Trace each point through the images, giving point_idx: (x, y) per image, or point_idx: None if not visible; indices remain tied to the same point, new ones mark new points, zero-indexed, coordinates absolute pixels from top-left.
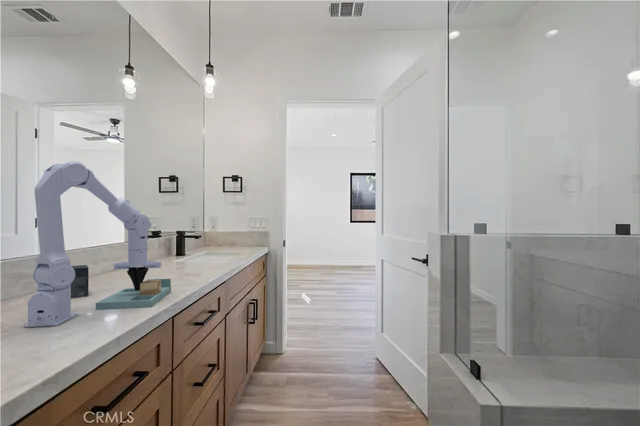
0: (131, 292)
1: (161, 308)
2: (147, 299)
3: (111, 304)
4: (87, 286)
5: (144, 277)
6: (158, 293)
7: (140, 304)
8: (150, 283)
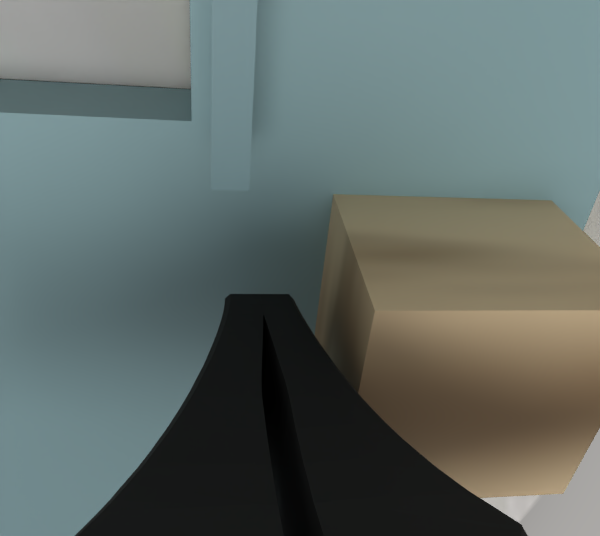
0: (98, 177)
1: (515, 506)
2: None
3: None
4: None
5: (378, 419)
6: None
7: None
8: (483, 490)
